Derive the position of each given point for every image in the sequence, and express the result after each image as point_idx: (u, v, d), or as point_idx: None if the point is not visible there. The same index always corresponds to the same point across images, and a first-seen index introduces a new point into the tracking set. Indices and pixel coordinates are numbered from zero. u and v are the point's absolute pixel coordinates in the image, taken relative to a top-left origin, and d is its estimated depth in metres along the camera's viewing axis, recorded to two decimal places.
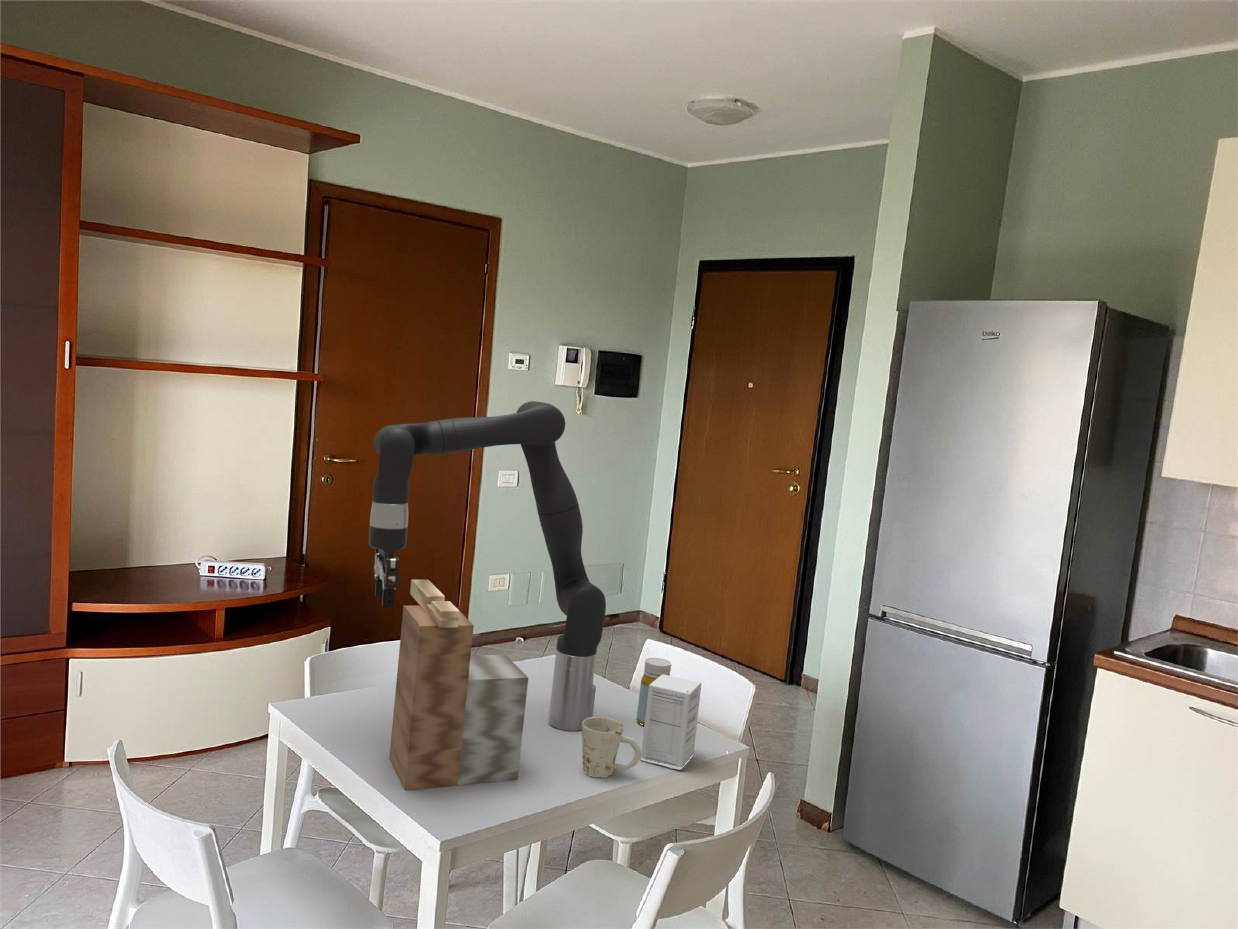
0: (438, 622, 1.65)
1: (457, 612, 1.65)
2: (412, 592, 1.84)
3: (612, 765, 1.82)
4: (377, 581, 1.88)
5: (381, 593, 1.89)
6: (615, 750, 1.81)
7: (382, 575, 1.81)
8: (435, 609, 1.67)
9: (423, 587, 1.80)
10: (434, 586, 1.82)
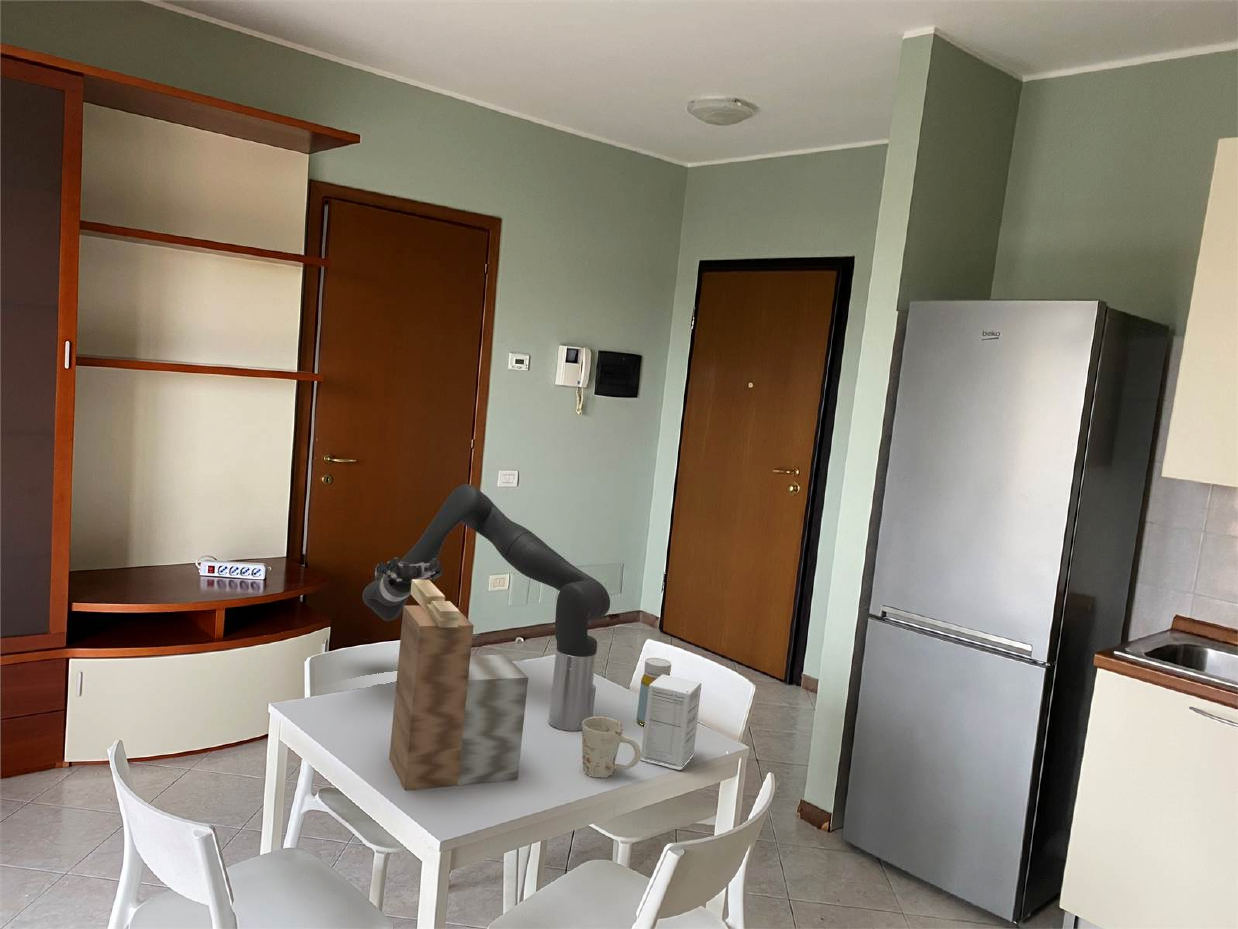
0: (438, 622, 1.65)
1: (457, 612, 1.66)
2: (412, 592, 1.84)
3: (612, 765, 1.82)
4: (429, 570, 2.02)
5: (432, 562, 2.00)
6: (615, 750, 1.81)
7: None
8: (435, 609, 1.67)
9: (423, 587, 1.80)
10: (434, 586, 1.82)
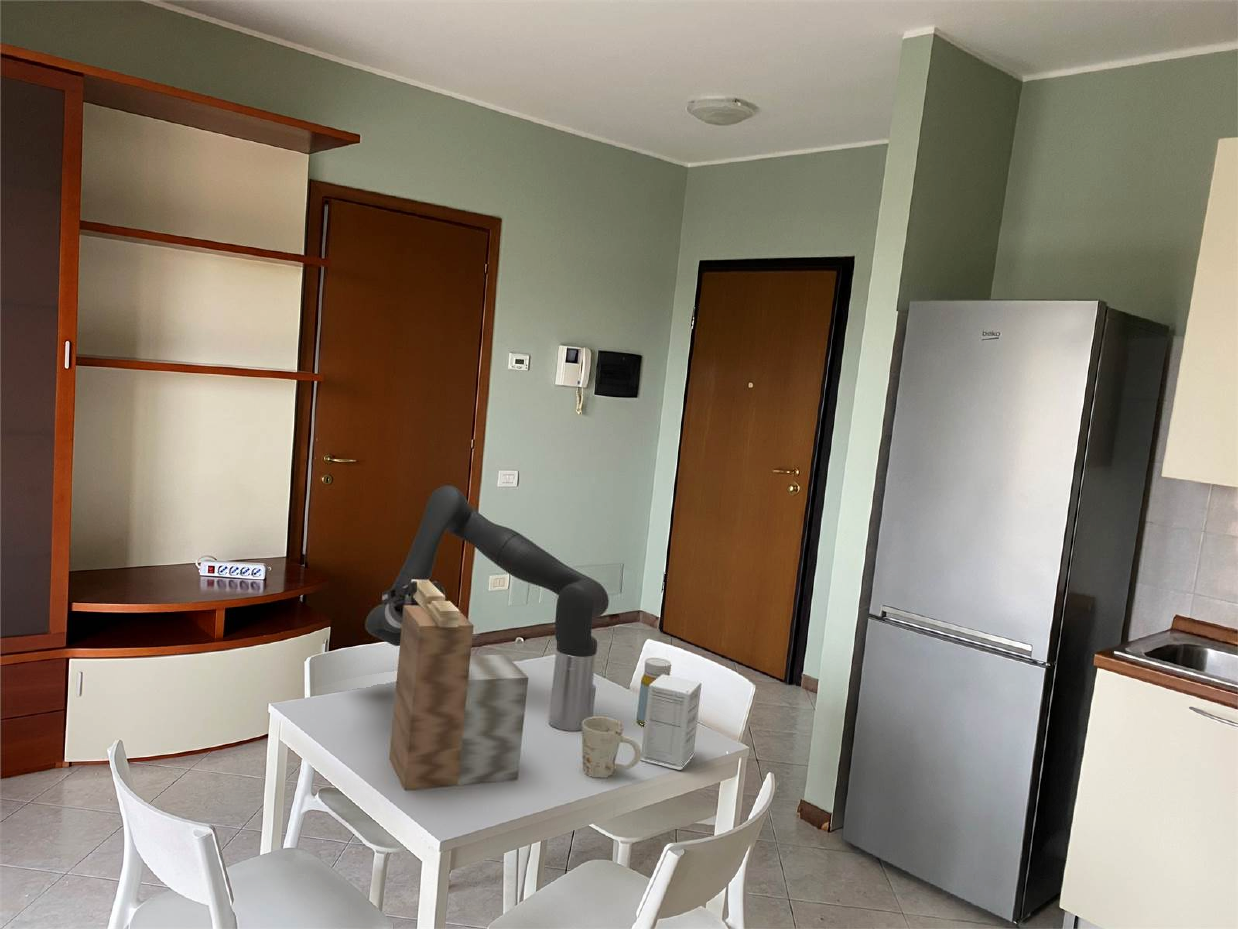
0: (438, 622, 1.65)
1: (457, 612, 1.66)
2: None
3: (612, 765, 1.82)
4: None
5: None
6: (615, 750, 1.81)
7: (405, 601, 1.86)
8: (436, 609, 1.67)
9: (423, 587, 1.80)
10: (434, 586, 1.82)
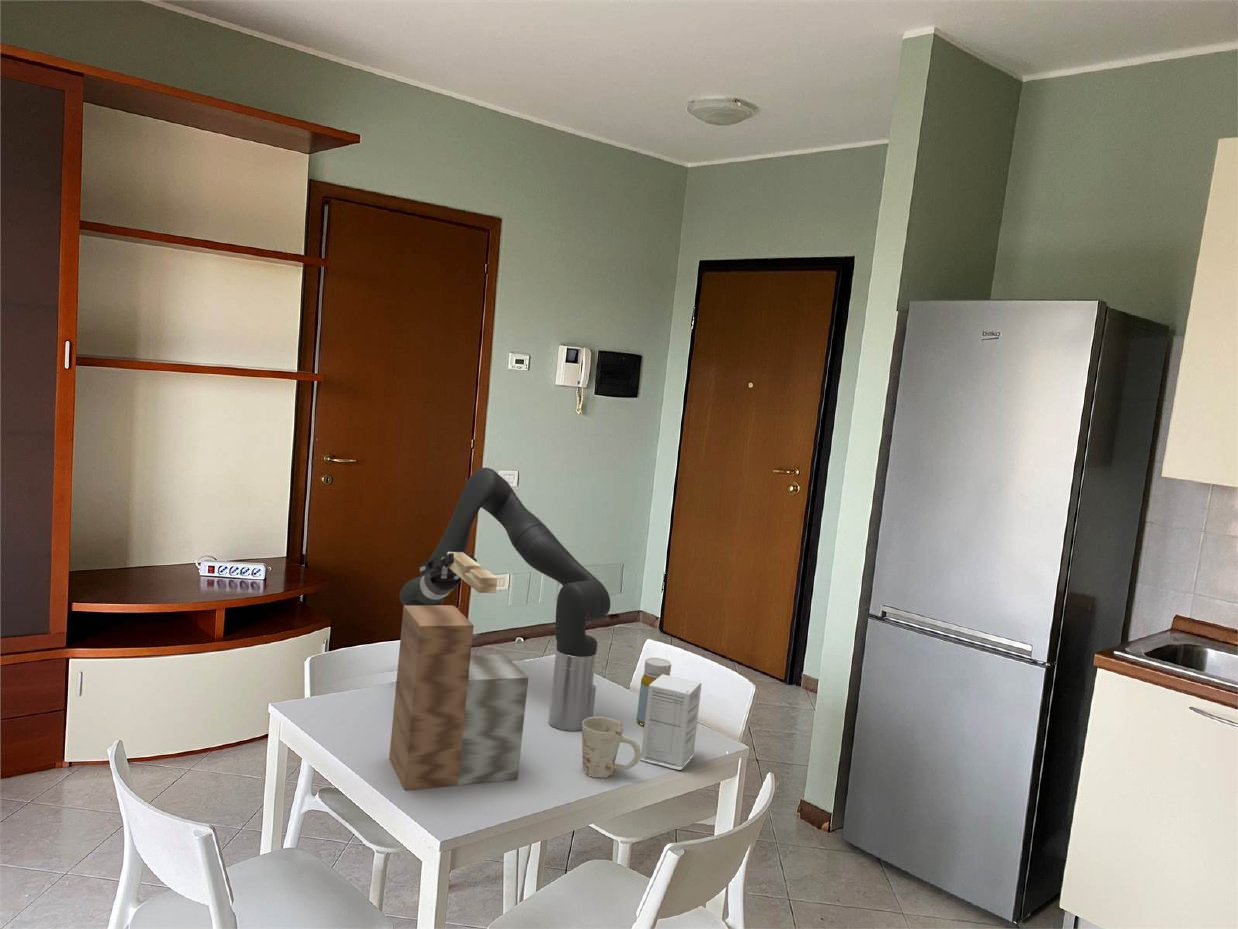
0: (477, 588, 1.78)
1: (495, 579, 1.78)
2: None
3: (612, 765, 1.82)
4: None
5: None
6: (615, 750, 1.81)
7: (441, 572, 1.98)
8: (474, 577, 1.80)
9: (459, 558, 1.93)
10: (469, 557, 1.95)
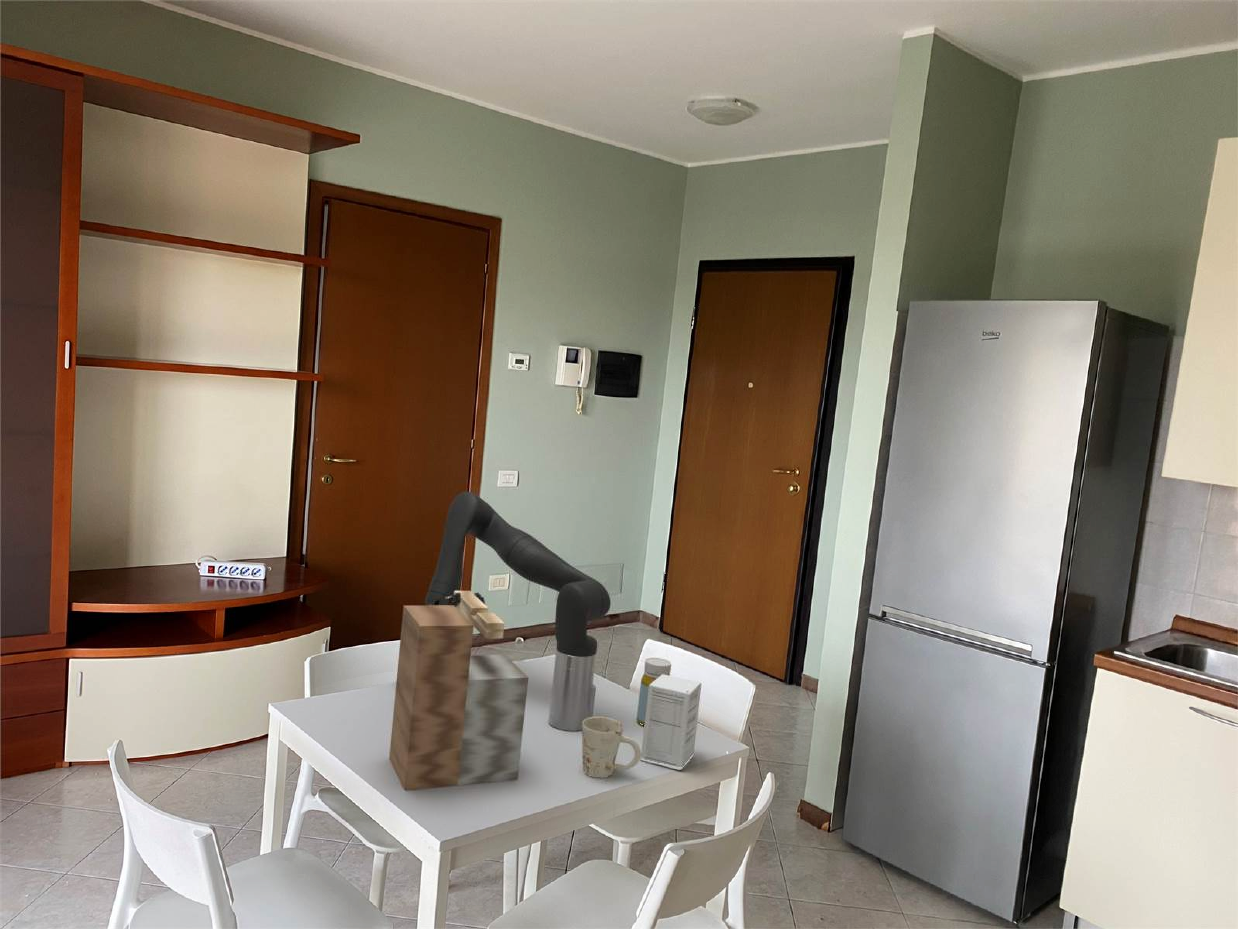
0: (484, 633, 1.74)
1: (502, 624, 1.74)
2: None
3: (612, 765, 1.82)
4: None
5: None
6: (615, 750, 1.81)
7: None
8: (481, 621, 1.76)
9: (466, 598, 1.89)
10: None
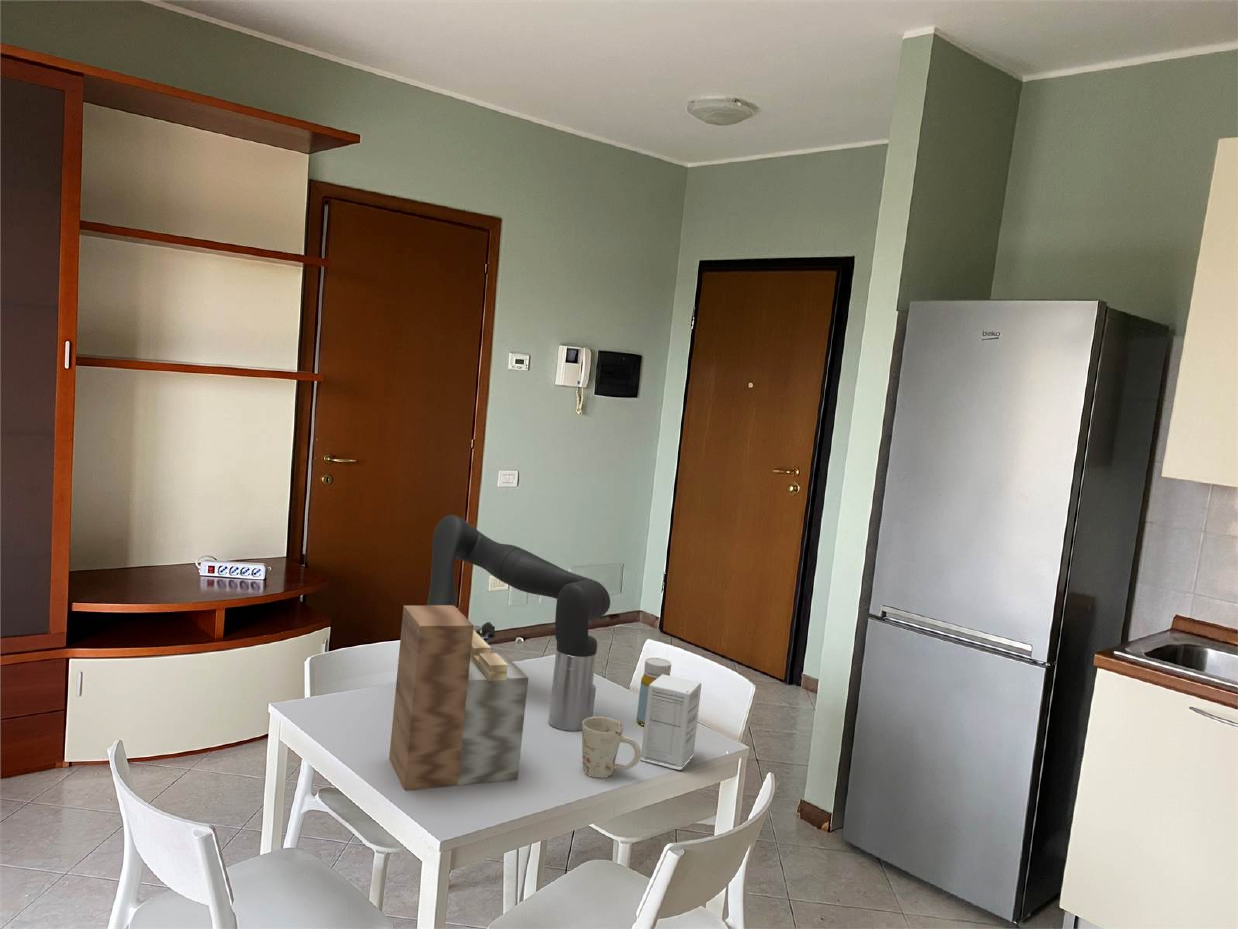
0: (487, 675, 1.71)
1: (505, 666, 1.71)
2: None
3: (612, 765, 1.82)
4: (483, 634, 1.92)
5: (486, 627, 1.90)
6: (615, 750, 1.81)
7: None
8: (484, 662, 1.73)
9: None
10: (479, 636, 1.88)
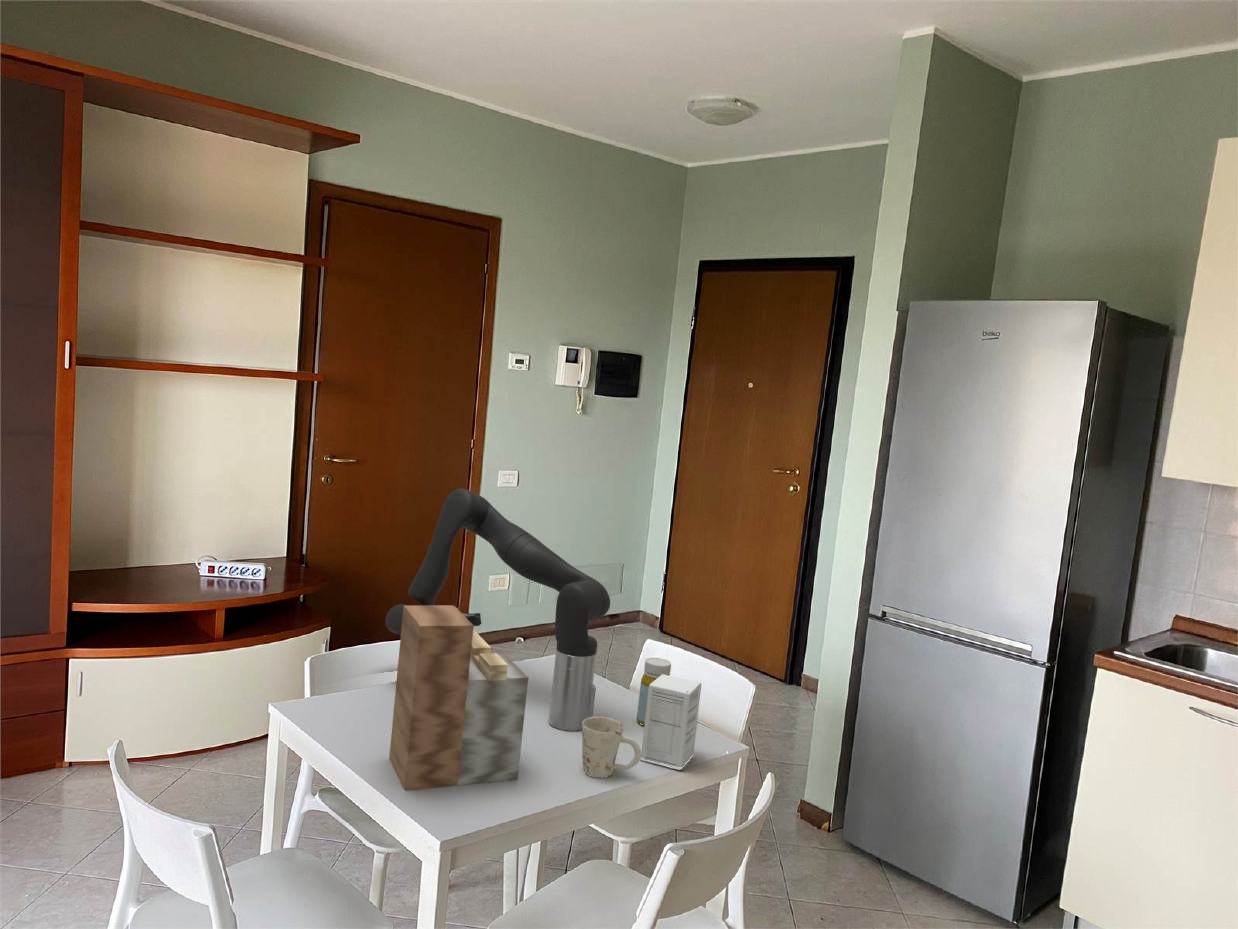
0: (487, 675, 1.71)
1: (505, 666, 1.71)
2: None
3: (612, 765, 1.82)
4: None
5: (475, 620, 2.01)
6: (615, 750, 1.81)
7: None
8: (484, 662, 1.73)
9: None
10: (479, 636, 1.88)
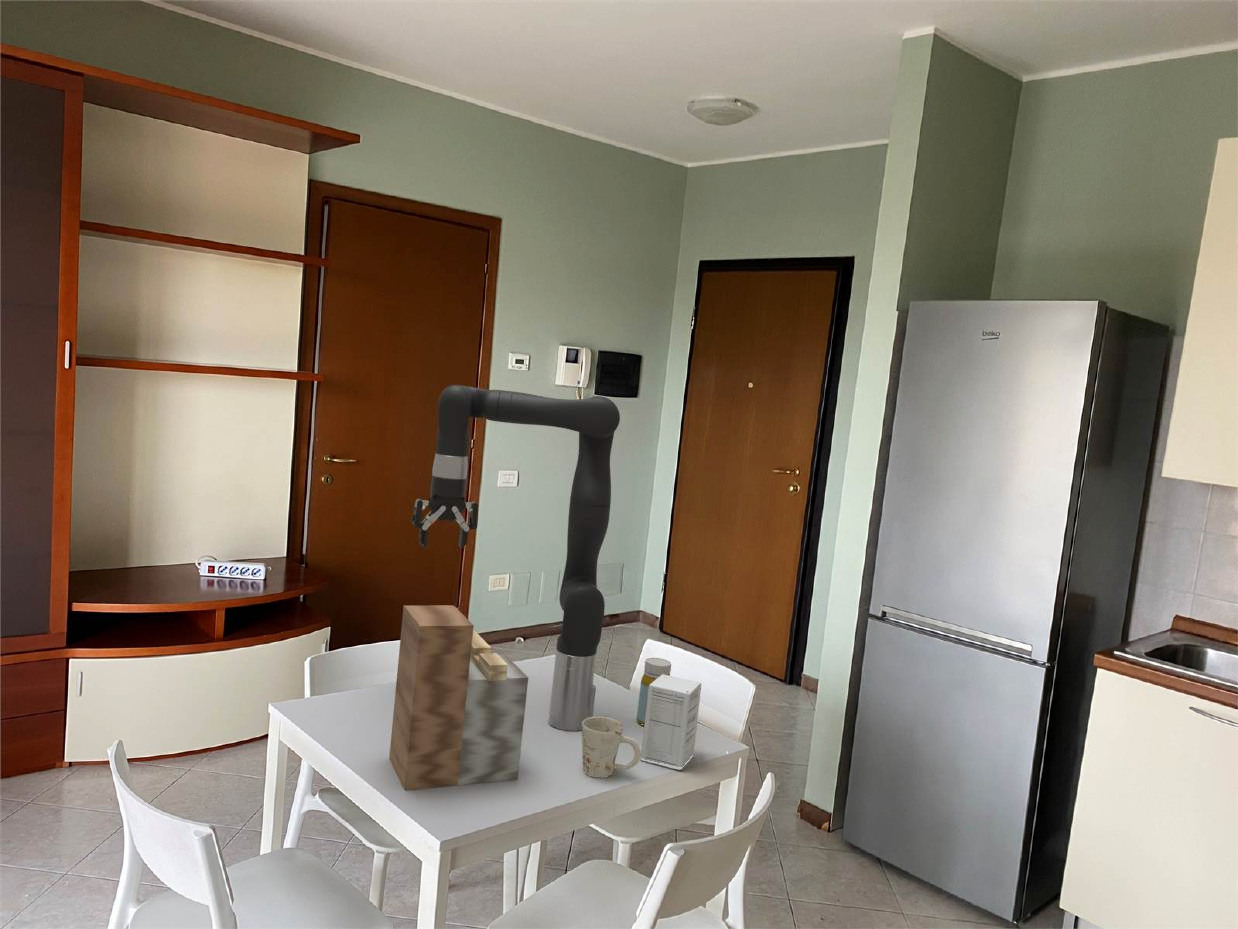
0: (487, 675, 1.71)
1: (505, 666, 1.71)
2: None
3: (612, 765, 1.82)
4: (460, 531, 2.04)
5: (460, 543, 2.04)
6: (615, 750, 1.81)
7: (426, 516, 2.01)
8: (484, 662, 1.73)
9: None
10: (479, 636, 1.88)
